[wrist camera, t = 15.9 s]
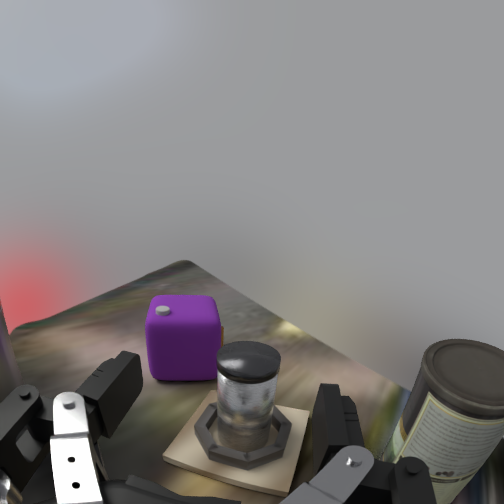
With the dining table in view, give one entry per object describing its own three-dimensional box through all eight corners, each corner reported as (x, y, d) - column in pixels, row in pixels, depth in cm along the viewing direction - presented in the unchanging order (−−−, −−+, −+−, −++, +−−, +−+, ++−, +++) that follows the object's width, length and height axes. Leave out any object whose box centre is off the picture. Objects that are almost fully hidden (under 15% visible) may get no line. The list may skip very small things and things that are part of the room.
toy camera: (206, 334, 50) (207, 278, 48) (234, 381, 38) (237, 314, 35) (143, 339, 46) (139, 281, 43) (153, 391, 33) (145, 321, 31)
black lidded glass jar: (207, 444, 25) (205, 363, 23) (228, 413, 30) (230, 336, 28) (260, 459, 23) (271, 379, 21) (275, 425, 28) (287, 347, 26)
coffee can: (358, 455, 24) (401, 342, 21) (435, 437, 25) (483, 333, 22) (388, 531, 14) (472, 423, 11) (473, 496, 15) (550, 385, 12)
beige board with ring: (163, 460, 23) (160, 445, 22) (211, 395, 34) (211, 380, 34) (286, 497, 20) (291, 484, 19) (308, 417, 31) (311, 401, 30)
